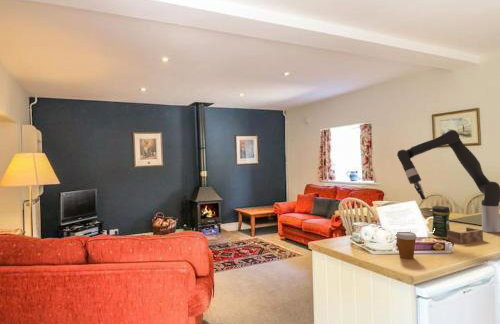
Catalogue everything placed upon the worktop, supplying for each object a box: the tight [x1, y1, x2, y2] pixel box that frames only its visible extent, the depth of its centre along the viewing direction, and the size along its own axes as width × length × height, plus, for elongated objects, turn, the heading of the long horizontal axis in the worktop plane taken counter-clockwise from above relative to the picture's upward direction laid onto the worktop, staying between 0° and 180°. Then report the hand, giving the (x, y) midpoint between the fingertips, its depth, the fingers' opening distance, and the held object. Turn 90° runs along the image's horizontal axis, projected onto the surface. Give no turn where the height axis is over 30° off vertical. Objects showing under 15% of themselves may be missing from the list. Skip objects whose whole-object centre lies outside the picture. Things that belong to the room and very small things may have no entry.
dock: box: [446, 227, 484, 245], centre depth 192 cm, size 19×9×6 cm, turn 112°
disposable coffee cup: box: [395, 231, 418, 260], centre depth 162 cm, size 10×10×12 cm
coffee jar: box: [431, 205, 451, 237], centre depth 206 cm, size 10×8×19 cm
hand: (423, 199), depth 218 cm, fingers closed
